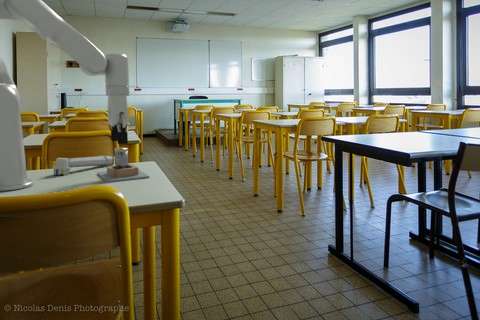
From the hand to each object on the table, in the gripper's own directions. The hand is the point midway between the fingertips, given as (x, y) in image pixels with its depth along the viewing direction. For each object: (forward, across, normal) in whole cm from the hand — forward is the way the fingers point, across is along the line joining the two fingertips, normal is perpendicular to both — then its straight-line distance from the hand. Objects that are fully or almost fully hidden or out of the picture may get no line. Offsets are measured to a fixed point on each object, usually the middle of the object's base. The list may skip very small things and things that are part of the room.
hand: (119, 142), depth 136 cm
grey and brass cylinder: (+11, 0, +1) cm, 11 cm away
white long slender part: (+12, -19, -9) cm, 24 cm away
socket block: (+12, 0, +1) cm, 12 cm away
